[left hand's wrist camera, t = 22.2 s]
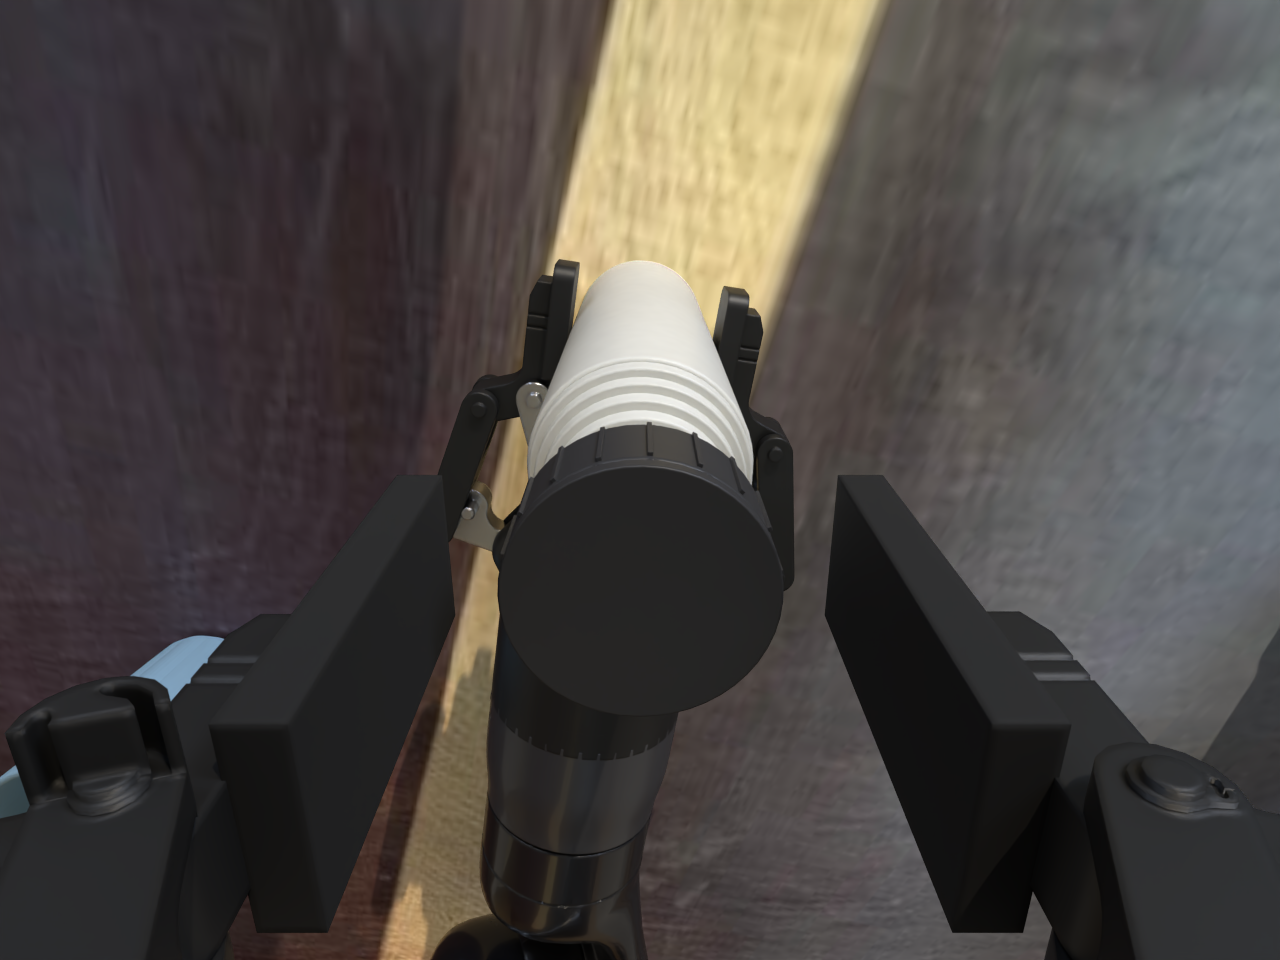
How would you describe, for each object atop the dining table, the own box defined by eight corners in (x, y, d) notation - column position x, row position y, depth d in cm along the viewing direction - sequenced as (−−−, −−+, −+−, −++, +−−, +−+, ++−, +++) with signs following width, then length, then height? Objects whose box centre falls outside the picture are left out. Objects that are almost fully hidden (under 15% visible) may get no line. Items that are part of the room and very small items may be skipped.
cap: (492, 435, 14) (469, 480, 12) (761, 407, 14) (780, 447, 12) (533, 659, 15) (518, 730, 14) (774, 637, 15) (793, 705, 13)
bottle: (560, 350, 34) (443, 637, 14) (610, 238, 33) (562, 377, 12) (667, 400, 35) (706, 741, 15) (721, 293, 33) (851, 510, 13)
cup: (98, 649, 39) (-78, 812, 30) (232, 589, 38) (95, 738, 28) (194, 765, 42) (61, 949, 32) (322, 712, 41) (225, 887, 31)
